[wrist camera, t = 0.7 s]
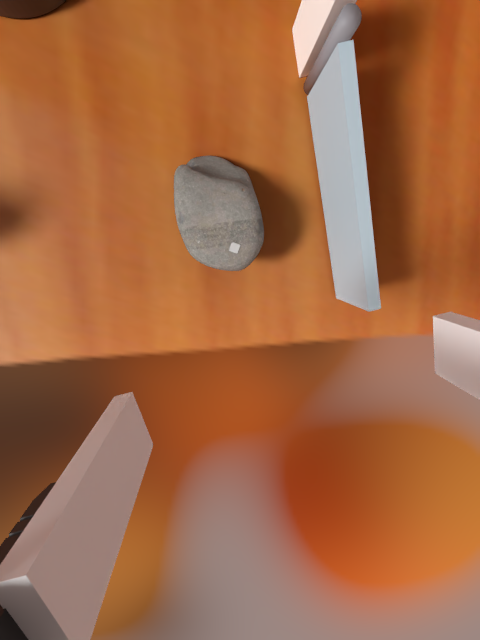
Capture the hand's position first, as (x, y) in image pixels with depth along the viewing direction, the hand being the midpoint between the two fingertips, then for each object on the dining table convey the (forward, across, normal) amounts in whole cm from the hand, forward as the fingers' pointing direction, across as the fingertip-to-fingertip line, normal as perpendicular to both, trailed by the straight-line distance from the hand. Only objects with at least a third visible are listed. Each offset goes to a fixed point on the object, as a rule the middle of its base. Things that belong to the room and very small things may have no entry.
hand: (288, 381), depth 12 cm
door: (+22, +12, +8) cm, 26 cm away
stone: (+22, 0, +9) cm, 24 cm away
